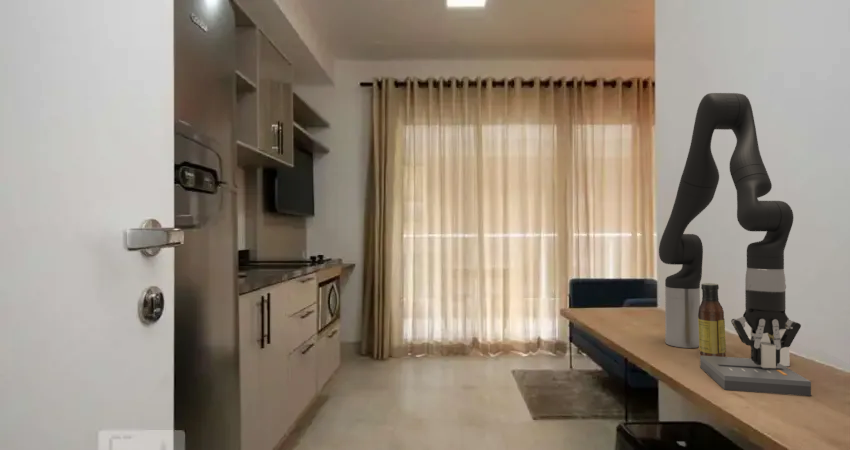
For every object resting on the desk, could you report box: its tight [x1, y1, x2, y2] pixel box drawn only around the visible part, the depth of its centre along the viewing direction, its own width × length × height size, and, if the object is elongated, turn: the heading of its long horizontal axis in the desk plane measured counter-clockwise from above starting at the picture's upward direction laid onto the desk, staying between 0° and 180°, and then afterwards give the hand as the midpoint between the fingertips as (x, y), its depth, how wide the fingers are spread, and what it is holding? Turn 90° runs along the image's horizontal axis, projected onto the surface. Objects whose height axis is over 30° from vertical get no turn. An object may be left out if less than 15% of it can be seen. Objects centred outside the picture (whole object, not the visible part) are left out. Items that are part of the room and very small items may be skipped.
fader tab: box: [759, 342, 776, 369], centre depth 113 cm, size 4×3×6 cm, turn 166°
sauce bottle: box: [698, 282, 727, 357], centre depth 134 cm, size 6×6×20 cm
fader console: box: [699, 354, 812, 397], centre depth 113 cm, size 18×16×3 cm
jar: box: [761, 317, 791, 368], centre depth 129 cm, size 9×8×12 cm
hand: (765, 364), depth 113 cm, fingers closed on fader tab, 2 cm apart
